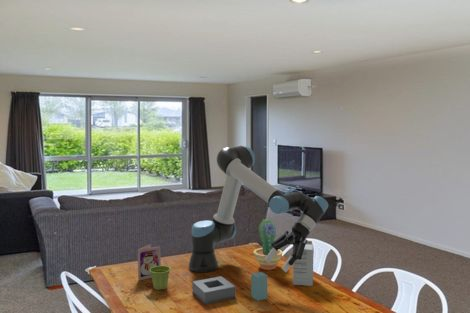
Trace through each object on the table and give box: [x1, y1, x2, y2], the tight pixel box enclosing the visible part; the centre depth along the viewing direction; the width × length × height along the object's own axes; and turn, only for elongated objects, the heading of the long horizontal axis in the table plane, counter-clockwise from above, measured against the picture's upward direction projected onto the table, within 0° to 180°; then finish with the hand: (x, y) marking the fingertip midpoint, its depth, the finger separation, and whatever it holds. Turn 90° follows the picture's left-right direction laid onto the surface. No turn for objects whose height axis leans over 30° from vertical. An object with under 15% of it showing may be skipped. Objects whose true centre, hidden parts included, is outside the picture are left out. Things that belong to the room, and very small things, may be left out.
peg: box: [250, 271, 268, 301], centre depth 179 cm, size 5×5×10 cm
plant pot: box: [150, 265, 171, 291], centre depth 191 cm, size 9×9×9 cm
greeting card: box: [137, 243, 162, 281], centre depth 205 cm, size 11×7×15 cm, turn 123°
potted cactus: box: [252, 218, 284, 271], centre depth 217 cm, size 15×15×25 cm
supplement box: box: [292, 243, 314, 287], centre depth 196 cm, size 10×9×17 cm
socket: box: [192, 276, 236, 305], centre depth 182 cm, size 14×14×5 cm
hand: (274, 265), depth 181 cm, fingers open, 13 cm apart
